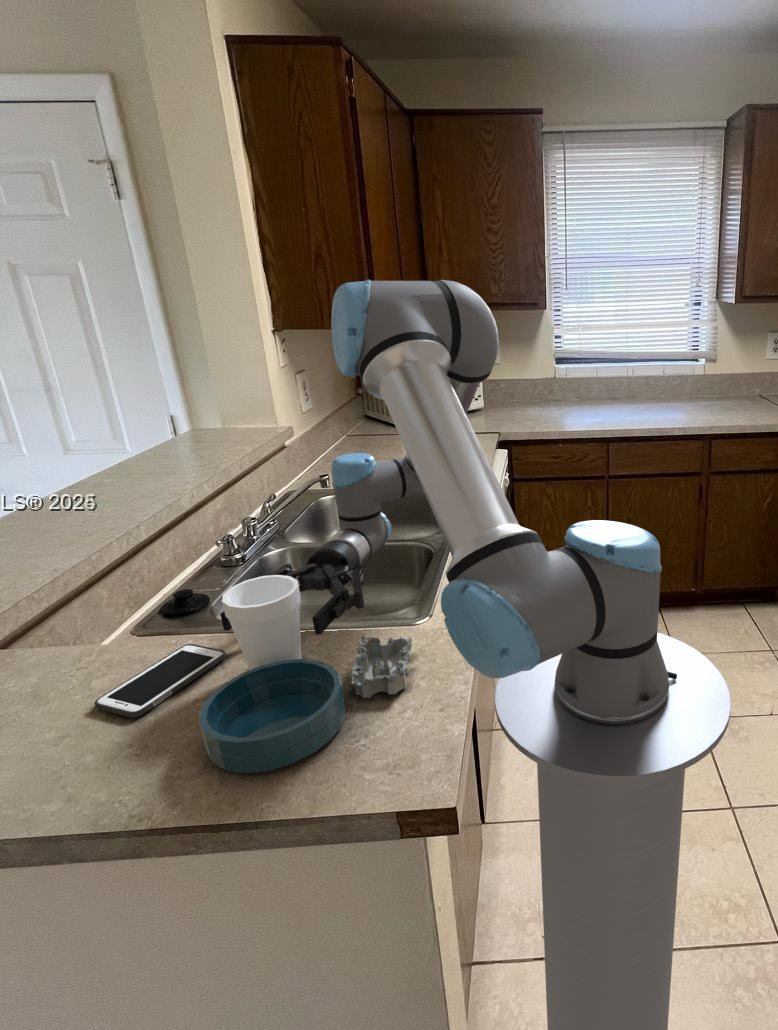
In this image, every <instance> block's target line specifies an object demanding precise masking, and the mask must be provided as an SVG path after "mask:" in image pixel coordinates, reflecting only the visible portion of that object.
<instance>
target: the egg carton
mask: <svg viewBox="0 0 778 1030" xmlns="http://www.w3.org/2000/svg"><path fill="white" fill-rule="evenodd" d="M412 643H413V639H412V637H409V636H408V637H403V636H400V637H399V638H393V637H389V638H388V641H385V642H381V640H380V638H379V637H377V636H366V634H362V635H361V637H360V640H359V642H358V645H357V646H358V647H357V652H356V655H355V657H354V662H353V666H352V668H351V685H354V687H355V695H358V696H361V697H362V698H363V699H371V698H372V696H374V695H375V694H377V693H382V692H384V693H387V695H396V694H397V693H398V692H400V691H402V690H406V689H407V686H408V683H407V676H406V675H408V674H409V671H410V670H409V661H410V660H411V650H412Z"/></svg>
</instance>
